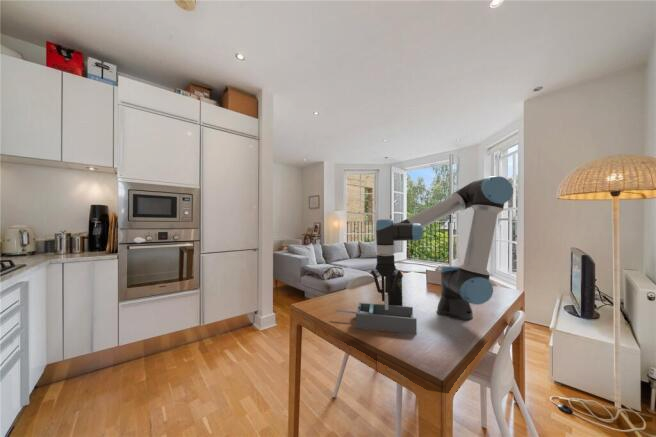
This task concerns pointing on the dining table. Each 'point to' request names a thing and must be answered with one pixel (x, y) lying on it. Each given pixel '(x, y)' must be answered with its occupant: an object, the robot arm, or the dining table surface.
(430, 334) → the dining table surface
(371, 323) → the grey shallow rectangular box
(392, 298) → the container
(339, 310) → the pusher
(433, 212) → the robot arm
